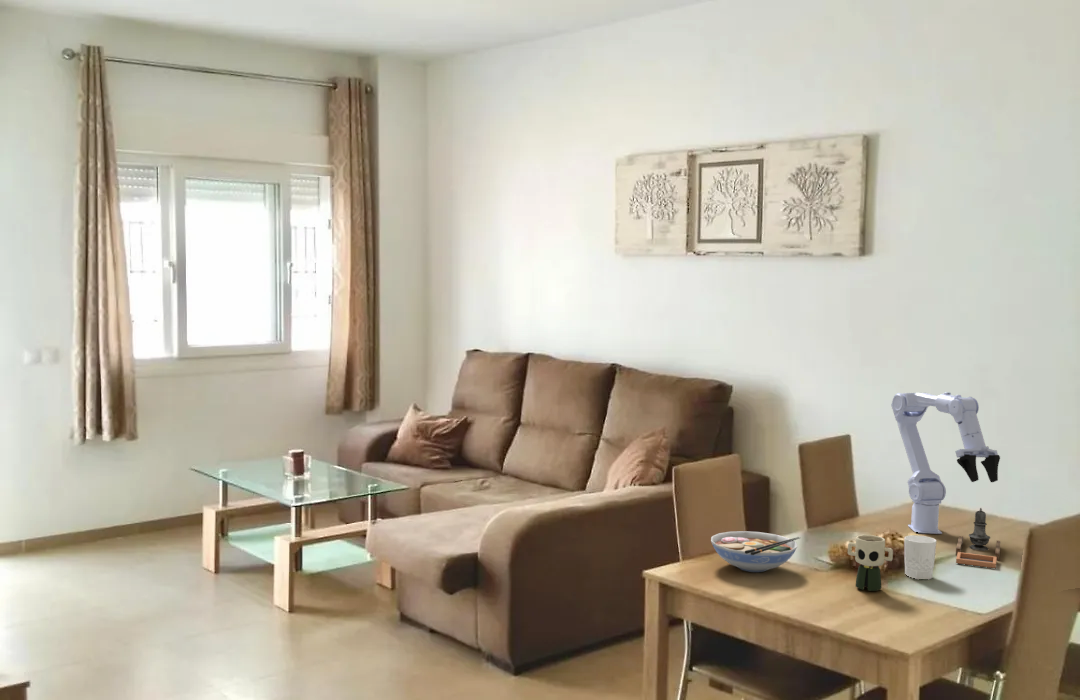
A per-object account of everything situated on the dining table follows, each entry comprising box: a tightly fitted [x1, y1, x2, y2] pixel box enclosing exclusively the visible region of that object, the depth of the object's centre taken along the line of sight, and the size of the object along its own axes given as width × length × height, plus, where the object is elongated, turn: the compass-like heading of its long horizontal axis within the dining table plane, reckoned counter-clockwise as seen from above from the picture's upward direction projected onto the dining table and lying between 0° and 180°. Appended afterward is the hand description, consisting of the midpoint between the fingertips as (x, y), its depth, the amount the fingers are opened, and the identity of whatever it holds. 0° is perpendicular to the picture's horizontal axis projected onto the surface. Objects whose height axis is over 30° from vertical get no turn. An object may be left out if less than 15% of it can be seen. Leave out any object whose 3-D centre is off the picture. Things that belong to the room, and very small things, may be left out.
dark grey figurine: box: [968, 507, 991, 552], centre depth 298 cm, size 6×6×12 cm
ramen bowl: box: [710, 530, 800, 573], centre depth 272 cm, size 25×23×8 cm
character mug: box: [847, 534, 894, 592], centre depth 255 cm, size 11×7×13 cm, turn 60°
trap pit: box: [955, 552, 998, 570], centre depth 282 cm, size 8×10×2 cm
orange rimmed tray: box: [955, 535, 1001, 562], centre depth 295 cm, size 16×11×2 cm
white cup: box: [903, 534, 937, 580], centre depth 268 cm, size 8×8×10 cm
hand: (984, 481), depth 293 cm, fingers open, 7 cm apart
